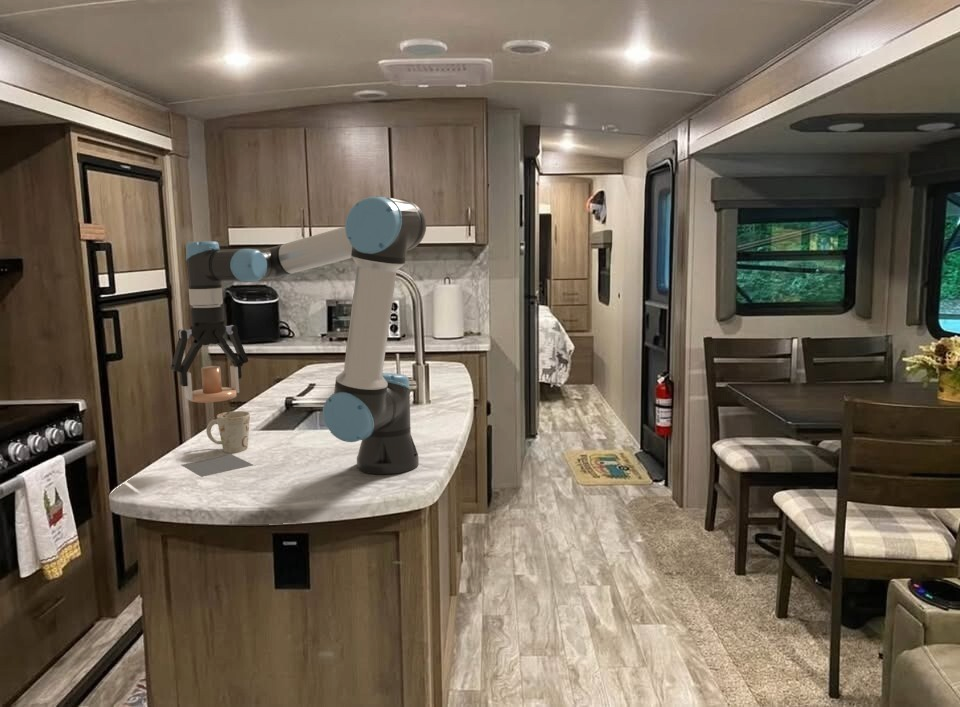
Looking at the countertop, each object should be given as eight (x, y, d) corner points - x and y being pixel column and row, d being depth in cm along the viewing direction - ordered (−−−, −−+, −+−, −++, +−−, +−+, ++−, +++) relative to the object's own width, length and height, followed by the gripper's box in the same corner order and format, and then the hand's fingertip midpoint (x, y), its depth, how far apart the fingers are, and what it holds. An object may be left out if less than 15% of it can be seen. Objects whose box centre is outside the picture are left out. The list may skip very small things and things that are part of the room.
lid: (244, 397, 182) (242, 367, 181) (199, 404, 175) (197, 373, 173) (225, 391, 190) (223, 362, 189) (181, 397, 183) (179, 367, 182)
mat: (253, 466, 184) (253, 464, 184) (201, 478, 175) (201, 476, 175) (231, 456, 194) (231, 454, 194) (181, 466, 185) (181, 464, 185)
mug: (242, 456, 193) (239, 418, 192) (198, 454, 196) (195, 417, 194) (257, 447, 201) (255, 411, 200) (215, 445, 204) (213, 410, 202)
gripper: (245, 302, 189) (250, 386, 193) (150, 308, 174) (158, 400, 177) (259, 303, 184) (264, 390, 187) (162, 310, 168) (170, 405, 172)
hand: (212, 395), depth 182 cm, fingers closed on lid, 11 cm apart
